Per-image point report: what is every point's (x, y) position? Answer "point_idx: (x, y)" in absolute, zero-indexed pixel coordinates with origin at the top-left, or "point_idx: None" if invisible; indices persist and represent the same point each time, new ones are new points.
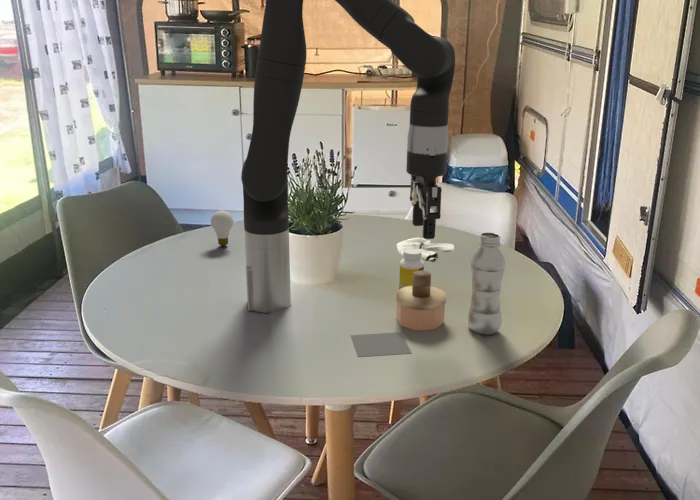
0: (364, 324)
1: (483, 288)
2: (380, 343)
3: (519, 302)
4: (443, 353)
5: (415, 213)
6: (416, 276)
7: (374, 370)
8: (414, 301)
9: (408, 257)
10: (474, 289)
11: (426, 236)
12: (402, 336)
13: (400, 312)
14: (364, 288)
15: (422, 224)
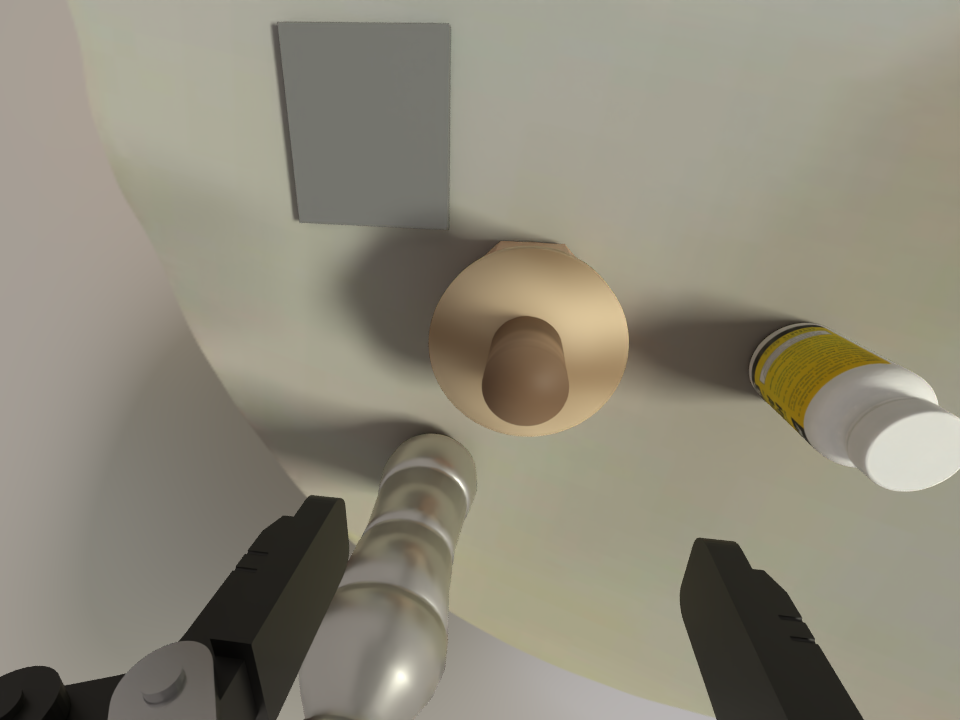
0: (558, 112)
1: (358, 545)
2: (371, 133)
3: (594, 605)
4: (319, 317)
5: (744, 659)
6: (500, 354)
7: (215, 74)
8: (461, 304)
9: (873, 413)
10: (395, 520)
11: (282, 519)
12: (414, 225)
13: (498, 247)
14: (922, 191)
15: (683, 602)
